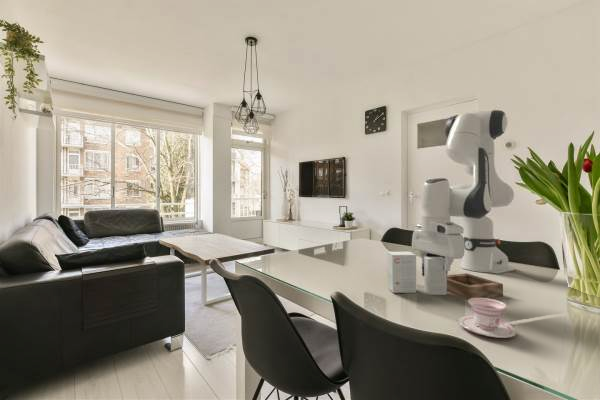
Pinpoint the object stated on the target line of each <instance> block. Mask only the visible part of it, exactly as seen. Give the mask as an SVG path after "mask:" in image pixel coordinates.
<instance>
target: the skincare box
mask: <svg viewBox="0 0 600 400" xmlns="http://www.w3.org/2000/svg"><path fill="white" fill-rule="evenodd" d="M445 262H446V260H445V258H443V257H424V276H423V277H424V292H425V293H426V294H427V295H428V296H429V295H432V296H433V295H434V296H436V295H437V296H447V295H448V293H447V275H448V274H447V271H445V270H443V269H442V268H443V267H442V265H445Z"/></svg>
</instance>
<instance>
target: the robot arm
mask: <svg viewBox="0 0 600 400" xmlns="http://www.w3.org/2000/svg"><path fill="white" fill-rule="evenodd" d="M507 127H508V118H507V115H506V113H505V112H504V111H503V110H501V109H499V110H498V109H497V110H496V109H494V110H492V111H491V110H481V111H474V112H466V113H465V112H464V113H462V114H459V115H458V114H455V115H453V116H450V117H449V118H447V120H446V121H445V124H444V134H445V137H446V138H447V140H446V143H445V152H446V154H447V156H448V157H449V158H450V159H451V161H453V162H455V163H458V164H461V165H464V171H465V172H466V173H467V174H469V175H470V176H472V183H471V182H470V183H458V184H453V185H451V186H450V183H449V179H448V178H444V177H442V178H441V177H440V178H431V179H426V181H424V182H423V185H422V191H421V207H422V214H421V224H416V225H415V227H414V228H413V229H414V230H413V233H412V238H411V247H412V249H413V250H415V251H419V256H420V259H421V265H422V264H424V257H427V256H426V254H427V253H431V254H436V255H440V256H444V257H445V260H446V262H445V265H442V267H443V268H442V269H443V270H445V271H448V272H450V271H451V265H452V263H454V261H455V260H457V259H461V262H460V268H461V269H465V270H467V271H468V270H469V271H472V272H478V273H479V272H481V273H491V274H498V275H499V274H502V273H507V272H513V271H515V270H516V268H515V267H514V266H511V265H509V257H508V256H507V255H506V253H505V252H503V251H501V250H500V248H498V247H497V244H498V245H500V244H501V240H500V239H499V238H498V239H497V238H494V222H493V220H492V219H491V218H489V217H488V216H486V215H488V213H490V212H491V209H492V208H502V207H507V206H509V205H510V204H512V202H513V200H514V197H515V193H514V189H513V188H512V187H511V186H510V185H509V184H508V183H506V182H504V181H503V180H502V179H501V178H500V177H499V175H498V172H497V171H496V167H495V166H496V165H495V141H494V140H496V139H497V138H499V137H501V136H502V135H503V134H505V132H506V129H507ZM451 217H457V218H462V219H463V220H462V221H463V226H461V225H459V224H457V223H455V222H454V221H451ZM462 234H464V235H462ZM463 236H464V237H463Z"/></svg>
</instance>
